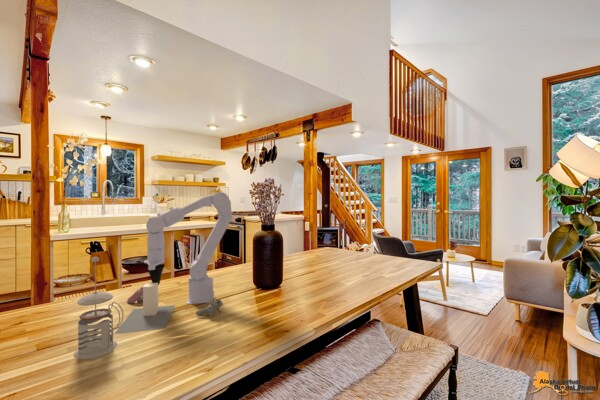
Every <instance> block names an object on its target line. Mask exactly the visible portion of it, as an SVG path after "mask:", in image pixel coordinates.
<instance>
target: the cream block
mask: <svg viewBox="0 0 600 400" xmlns="http://www.w3.org/2000/svg"><path fill="white" fill-rule="evenodd" d="M142 287H143V300H142V308H143V316H150V315H156V314H157V312H158V307H159V285H158V283H152V282H149V283H145V284H144V285H143V286H142Z"/></svg>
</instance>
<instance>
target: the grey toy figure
mask: <svg viewBox="0 0 600 400" xmlns="http://www.w3.org/2000/svg"><path fill="white" fill-rule="evenodd" d="M213 302H214V303H213ZM213 302H211V301H210V302H209V304H207V305H206V307H205V308H201V309H199V310H195V314H196V316H197V317H198V316H199V317H200V316H201V317H202V316H203V315H206V314H208V318H209V319H210V317H211V315H213V314H214V313H215V312H217V311H218V312H219V313H222V311H221V309H220V307H222V306H223V305H224V303H223V302H222V300H221V299H219V298H213Z"/></svg>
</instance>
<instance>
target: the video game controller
mask: <svg viewBox="0 0 600 400" xmlns="http://www.w3.org/2000/svg"><path fill="white" fill-rule="evenodd" d="M136 302H139V303H140V302H143V286H141V287H140V288H138V289H136V290H135V291H134V293H133V294H131V296H129V297H128V298H127V301H126V303H127V304H134V303H136Z"/></svg>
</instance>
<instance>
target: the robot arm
mask: <svg viewBox="0 0 600 400" xmlns="http://www.w3.org/2000/svg"><path fill="white" fill-rule="evenodd" d="M212 205H213V206H212ZM203 207H210V208H211V207H214V208H215V210H216V212H217V214H218V215H217V216H218V218H217V221H216V223H215V224H214V226H213V228H212V229H211V232H210V234H209V236H208V238H207V239H206V241H205V243H204V245H203V247H202V249H201V250H200V252H199V254H197V257H196V258H195V259H194V260H192V262H191V263H190V264H189V265H190V266H189V277H188V298H187V302H186V305H194V304H205V303H210V301H211V302H212V303H213V302H214V296H215V294H214V293H215V291H214V277H209V275H208V274H207V273H208V267H209V265H210V262H211V260H212V257H213V254H214V253H215V252H216V249H217V248H218V245H219V244H220V242H221V239H222V238H223V237H224V235H225V233H226V230H227V229H228V227H229V224H230V223H231V221H232V219H233V213H232V201H231V200H230V197H229V196H228V194H227V193H225V192H223V191H219V192H215V193H213V194H209V195H206V196H202V197H200V198H199V199H197V200H194V201H193V202H191V203H189V204H187V205H185V206H183V207H178V206H175V207H173V206H171V207H169V208H168V209H167V210H166V211H164V212H162V213H160V212H159V213H157V214H156V215H157V216H152V217H151V218H149V219H148V220H147V221H146V225H145V226H146V230H147V239H146V240H147V241H146V243H147V244H146V245H147V246H146V247H147V253H146V254H147V259H146V260H144V261H143V263H144V264H147V265H148V266H147V267H146V270H147V272H148V274H149V276H150V280H151V283H158V286H159V285H160V283H161V280H162V274H163V270H164V268H165V266H166V264H165V262H166V259H165V235H164V228H170V227H171V226H174V225H175V224H177V223H180V222H181V221H183V220H184V218H185V216H186V215H188V214H190V213H193V212H195V211H197V210H199V209H202V208H203Z"/></svg>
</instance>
